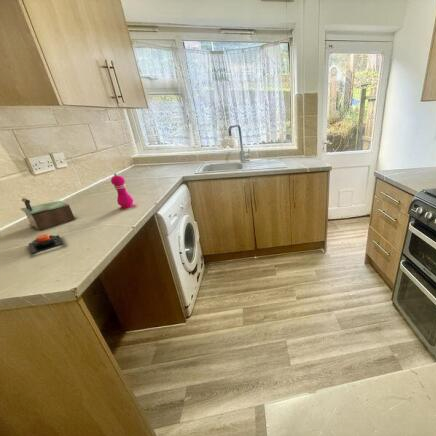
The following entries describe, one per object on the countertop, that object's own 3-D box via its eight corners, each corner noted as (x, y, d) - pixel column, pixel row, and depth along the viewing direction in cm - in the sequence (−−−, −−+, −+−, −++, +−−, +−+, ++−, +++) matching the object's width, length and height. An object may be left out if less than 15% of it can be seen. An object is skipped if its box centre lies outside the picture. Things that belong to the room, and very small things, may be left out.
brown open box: (39, 230, 110) (32, 215, 107) (31, 225, 116) (23, 210, 113) (75, 220, 121) (69, 205, 118) (66, 215, 126) (60, 201, 123)
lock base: (65, 248, 95) (61, 239, 94) (33, 258, 89) (28, 248, 87) (60, 239, 102) (56, 231, 100) (31, 248, 96) (26, 239, 94)
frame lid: (29, 214, 106) (23, 202, 104) (20, 210, 112) (15, 198, 110) (69, 205, 118) (65, 194, 116) (60, 201, 123) (56, 190, 121)
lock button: (51, 239, 94) (49, 235, 93) (38, 243, 92) (36, 239, 91) (49, 237, 96) (47, 233, 96) (37, 240, 94) (35, 236, 93)
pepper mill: (121, 207, 136) (108, 172, 127) (136, 205, 138) (124, 170, 130) (119, 212, 130) (105, 175, 121) (134, 209, 132) (122, 173, 124)
